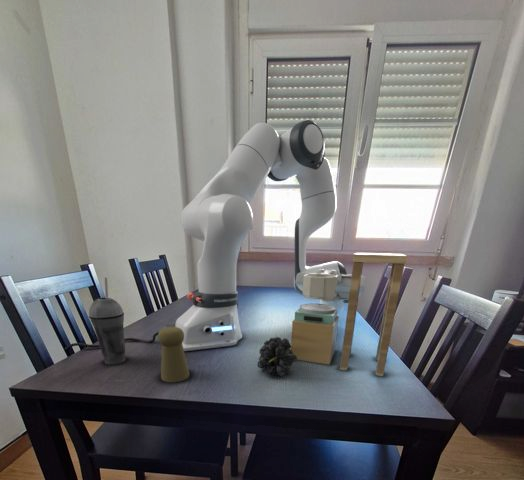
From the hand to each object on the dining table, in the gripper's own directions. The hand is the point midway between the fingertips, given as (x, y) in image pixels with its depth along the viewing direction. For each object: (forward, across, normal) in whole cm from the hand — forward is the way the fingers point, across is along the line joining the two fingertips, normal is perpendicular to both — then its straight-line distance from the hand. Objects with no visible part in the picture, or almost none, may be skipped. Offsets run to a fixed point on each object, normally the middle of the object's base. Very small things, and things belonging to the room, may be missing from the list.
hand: (327, 272), depth 78 cm
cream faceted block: (+3, 0, +7) cm, 7 cm away
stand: (+1, +12, +24) cm, 27 cm away
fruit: (+10, -6, +29) cm, 32 cm away
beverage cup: (+20, -45, +35) cm, 60 cm away
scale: (0, 0, +23) cm, 23 cm away
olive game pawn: (+21, -26, +36) cm, 49 cm away
